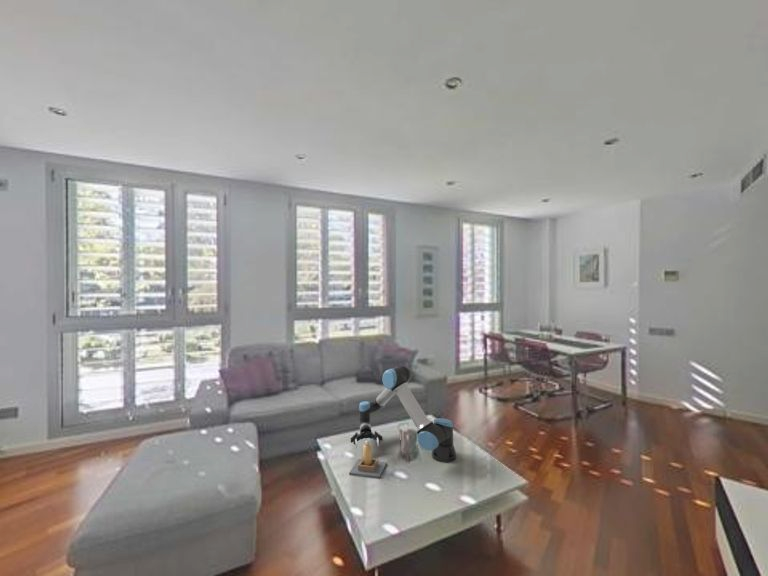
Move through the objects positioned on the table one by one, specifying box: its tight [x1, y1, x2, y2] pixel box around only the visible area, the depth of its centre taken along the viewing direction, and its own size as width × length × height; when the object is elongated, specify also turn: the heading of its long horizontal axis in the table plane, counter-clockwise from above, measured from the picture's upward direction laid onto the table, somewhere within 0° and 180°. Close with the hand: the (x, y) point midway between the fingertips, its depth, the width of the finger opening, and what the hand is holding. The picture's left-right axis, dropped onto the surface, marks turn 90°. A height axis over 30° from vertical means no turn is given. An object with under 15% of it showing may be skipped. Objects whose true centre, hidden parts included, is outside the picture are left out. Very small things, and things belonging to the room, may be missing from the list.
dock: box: [349, 458, 387, 479], centre depth 214 cm, size 18×16×4 cm
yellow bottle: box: [362, 440, 373, 466], centre depth 214 cm, size 5×5×16 cm
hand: (367, 444), depth 222 cm, fingers open, 13 cm apart
